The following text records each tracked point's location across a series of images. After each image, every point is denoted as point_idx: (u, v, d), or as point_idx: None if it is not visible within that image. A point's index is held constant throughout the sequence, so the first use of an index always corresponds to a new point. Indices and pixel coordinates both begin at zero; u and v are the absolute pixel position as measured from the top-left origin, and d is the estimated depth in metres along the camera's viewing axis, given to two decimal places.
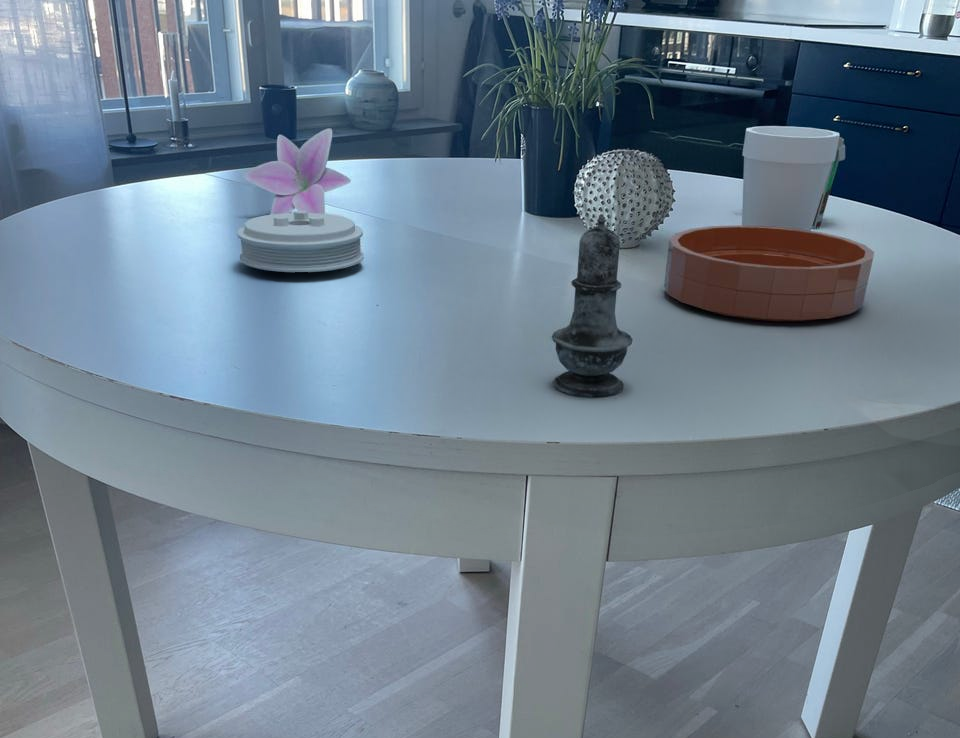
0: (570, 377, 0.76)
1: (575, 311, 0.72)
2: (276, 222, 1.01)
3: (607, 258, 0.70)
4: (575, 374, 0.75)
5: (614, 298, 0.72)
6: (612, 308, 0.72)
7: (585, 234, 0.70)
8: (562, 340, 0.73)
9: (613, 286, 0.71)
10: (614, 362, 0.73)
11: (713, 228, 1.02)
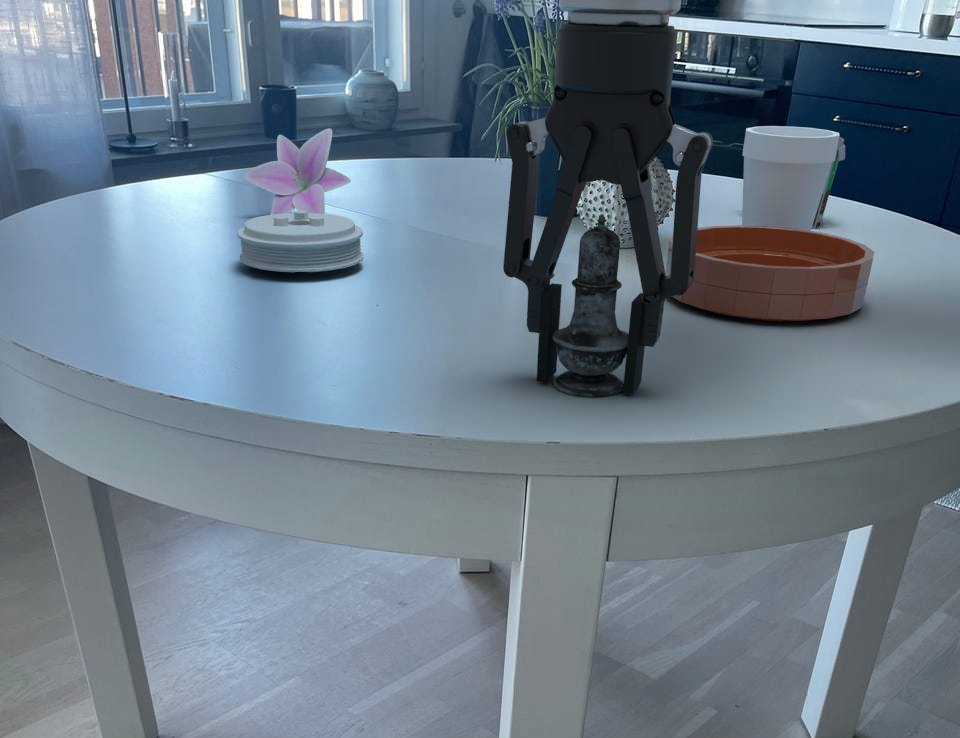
0: (570, 377, 0.76)
1: (576, 311, 0.72)
2: (276, 222, 1.01)
3: (607, 258, 0.70)
4: (575, 374, 0.75)
5: (614, 298, 0.72)
6: (612, 308, 0.72)
7: (585, 234, 0.70)
8: (562, 339, 0.73)
9: (613, 285, 0.71)
10: (615, 362, 0.73)
11: (713, 228, 1.02)
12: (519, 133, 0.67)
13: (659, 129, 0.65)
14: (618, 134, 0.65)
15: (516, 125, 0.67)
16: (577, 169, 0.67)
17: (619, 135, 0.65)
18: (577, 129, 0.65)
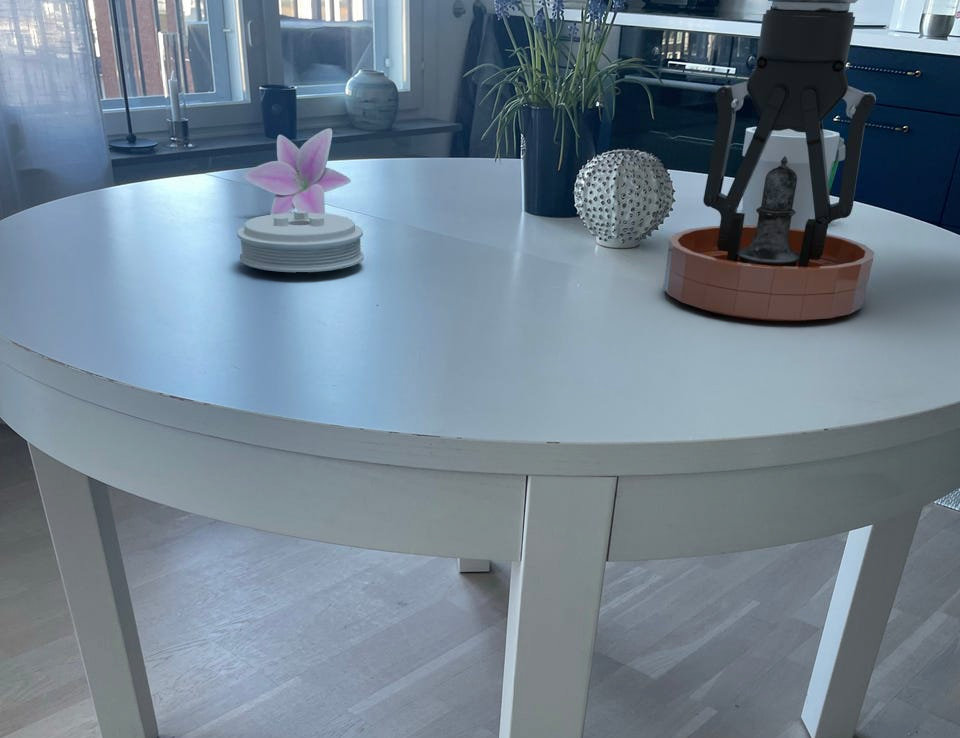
0: None
1: (759, 233, 0.94)
2: (276, 222, 1.01)
3: (788, 190, 0.91)
4: None
5: (790, 222, 0.94)
6: (788, 230, 0.94)
7: (771, 172, 0.92)
8: (747, 255, 0.95)
9: (790, 212, 0.93)
10: None
11: (713, 228, 1.02)
12: (726, 93, 0.89)
13: (838, 89, 0.86)
14: (807, 93, 0.86)
15: (724, 87, 0.89)
16: (772, 121, 0.89)
17: (808, 94, 0.86)
18: (775, 90, 0.87)
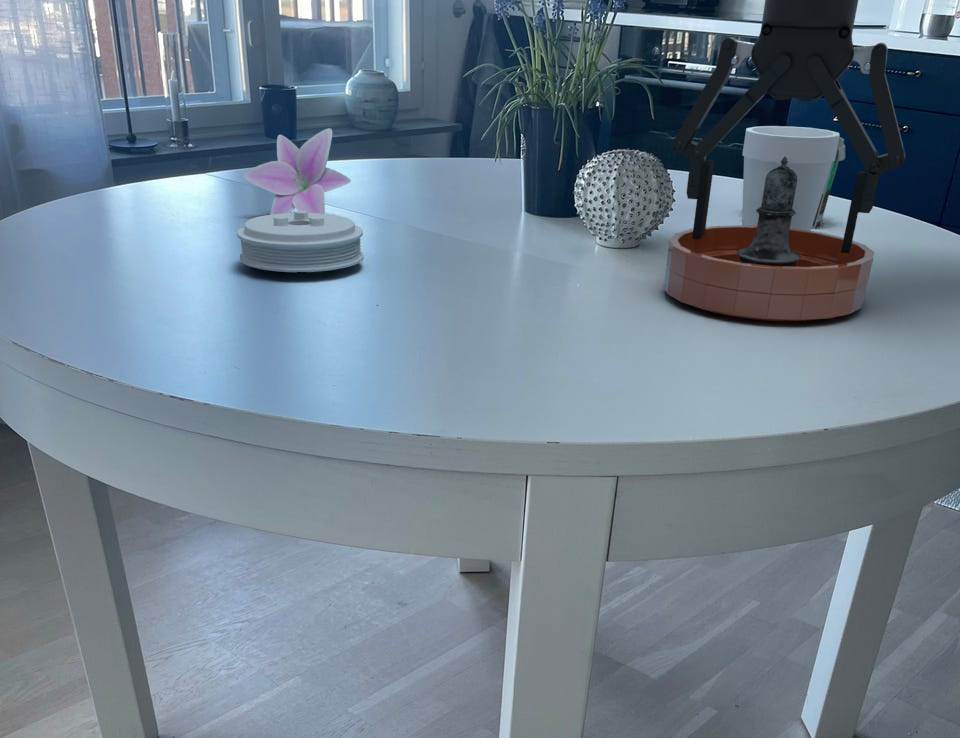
0: None
1: (759, 233, 0.94)
2: (276, 222, 1.01)
3: (788, 190, 0.91)
4: None
5: (790, 222, 0.94)
6: (788, 230, 0.94)
7: (771, 172, 0.92)
8: (747, 255, 0.95)
9: (791, 212, 0.93)
10: None
11: (713, 228, 1.02)
12: (731, 47, 0.87)
13: (844, 56, 0.85)
14: (811, 61, 0.85)
15: (732, 40, 0.87)
16: (768, 86, 0.87)
17: (812, 62, 0.85)
18: (782, 56, 0.86)
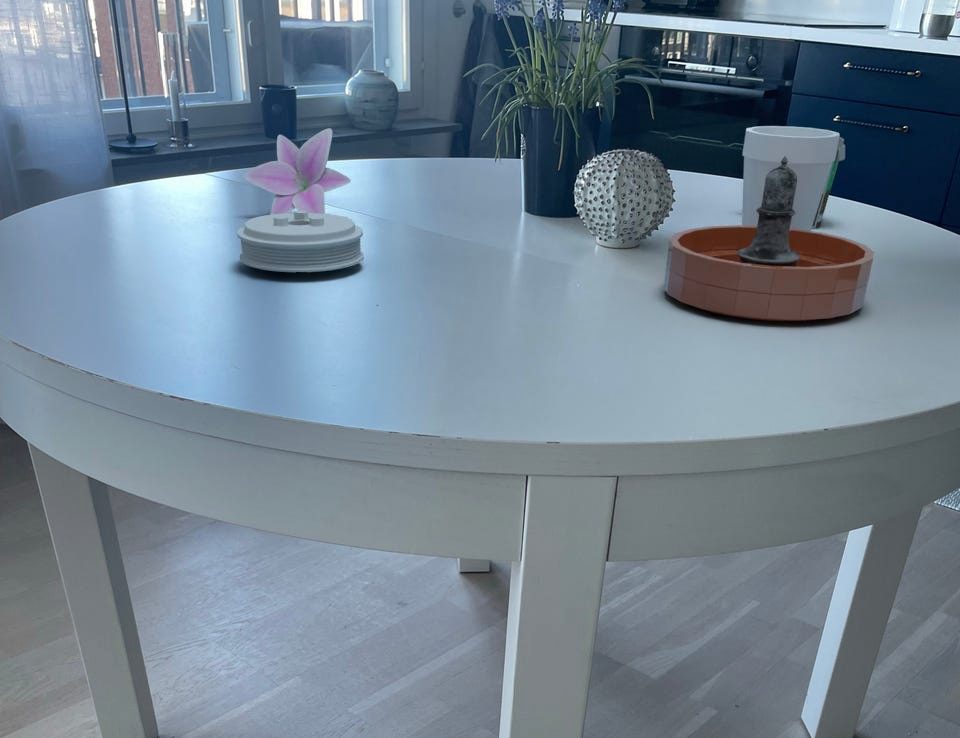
0: None
1: (759, 233, 0.94)
2: (276, 222, 1.01)
3: (788, 190, 0.91)
4: None
5: (790, 222, 0.94)
6: (788, 230, 0.94)
7: (771, 172, 0.92)
8: (747, 255, 0.95)
9: (791, 212, 0.93)
10: None
11: (713, 228, 1.02)
12: None
13: None
14: None
15: None
16: None
17: None
18: None
